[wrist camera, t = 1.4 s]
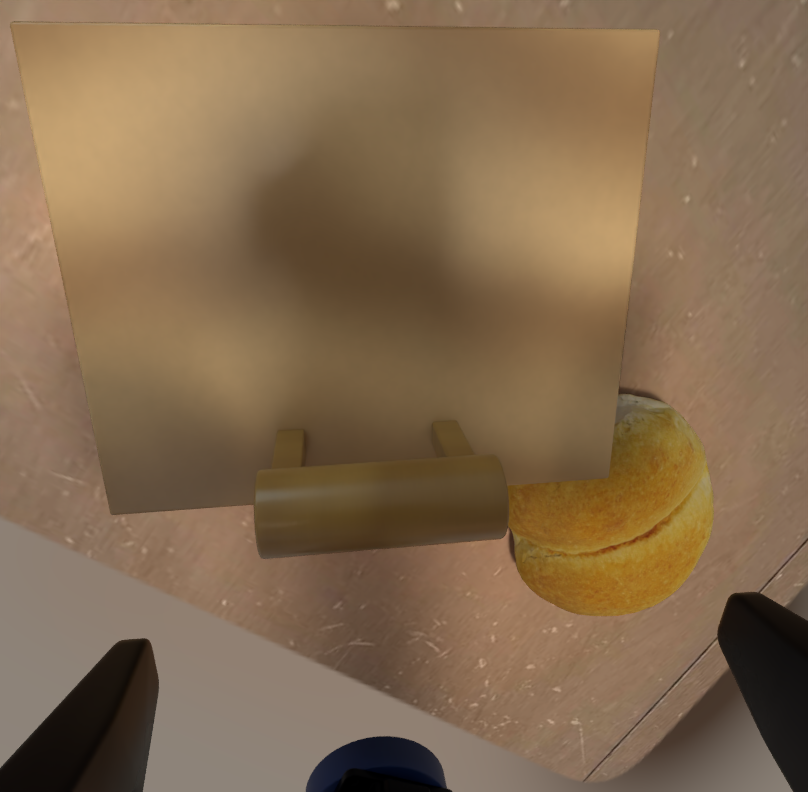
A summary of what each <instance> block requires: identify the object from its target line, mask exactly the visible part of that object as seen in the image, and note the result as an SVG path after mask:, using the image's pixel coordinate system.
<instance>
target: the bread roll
mask: <svg viewBox="0 0 808 792" xmlns="http://www.w3.org/2000/svg"><path fill="white" fill-rule="evenodd" d="M507 488H508V497H509V522H508V527H509V528H510V529H511V530H512V533H513V537H514V545H515V547H514V552H515V559H516V565H517V569H518V571H519V574H520V576H521V578H522V579H523V581H524V582H525V583H526V584H527V585H528V587H529V588H530V589H531V590H532V591H534V592H535V593H536V594H537V595H538V596H540V597H541V598H543V599H545V600H546V601H548V602H550V603H552V604H554V605H556V606H558V607H560V608H562V609H564V610H566V611H569V612H572V613H576V614H580V615H589V616H619V615H625V614H630V613H635V612H638V611H641V610H644V609H646V608H649V607H652V606H654V605H656V604H658V603H660V602H661V601H663V600H665V599H666V598H667V597H669V596H670V595H672V594H673V593H674V592H675V591H676V590H677V589H678V588H679V587H680V586H681V585H682V584H683V583H684V582H685V580H686V579H687V578H688V576H689V575H690V573H691V572H692V570H693V569H694V567H695V566H696V564H697V562H698V560H699V558H700V556H701V554H702V553H703V551H704V549H705V547H706V545H707V543H708V540H709V537H710V534H711V531H712V523H713V517H714V509H713V490H712V486H711V481H710V474H709V471H708V467H707V462H706V456H705V450H704V447H703V444H702V442H701V441H700V439H699V438H698V436H697V435H696V433H695V432H694V430H693V429H692V428H691V427H690V425H689V424H688V423H687V421H686V420H685V419H684V418H683V417H682V415H680V414H679V413H678V412H677V411H676V410H674V409H673V408H672V407H671V406H669V405H668V404H666V403H665V402H662V401H658V400H654V399H650V398H645V397H637V396H635V395H631V394H619V395H618V400H617V409H616V417H615V426H614V435H613V443H612V452H611V460H610V469H609V476H608V478H602V479H588V480H575V481H561V482H548V483H535V484H521V485H508V486H507Z"/></svg>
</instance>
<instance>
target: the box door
mask: <svg viewBox="0 0 808 792" xmlns="http://www.w3.org/2000/svg"><path fill="white" fill-rule="evenodd" d="M10 28H11V33H12V37H13V42H14V47H15V52H16V57H17V62H18V67H19V71H20V76H21V81H22V86H23V91H24V96H25V101H26V105H27V110H28V115H29V120H30V125H31V130H32V135H33V139H34V144H35V149H36V154H37V159H38V164H39V169H40V173H41V178H42V183H43V188H44V193H45V198H46V203H47V207H48V212H49V217H50V222H51V227H52V232H53V237H54V241H55V246H56V251H57V256H58V261H59V266H60V271H61V275H62V280H63V285H64V290H65V295H66V300H67V305H68V309H69V314H70V319H71V324H72V329H73V334H74V339H75V343H76V348H77V353H78V358H79V363H80V368H81V373H82V377H83V382H84V387H85V392H86V397H87V402H88V406H89V411H90V416H91V421H92V426H93V431H94V436H95V440H96V445H97V450H98V455H99V460H100V465H101V470H102V474H103V479H104V484H105V489H106V494H107V499H108V504H109V508H110V513H111V514H112V515H119V514H132V513H146V512H159V511H173V510H186V509H200V508H213V507H226V506H240V505H253V504H254V523H255V535H256V543H257V548H258V552H259V555H260V557H261V558H263V559H269V558H281V557H293V556H305V555H317V554H328V553H340V552H352V551H364V550H376V549H388V548H399V547H411V546H423V545H435V544H447V543H458V542H470V541H482V540H494V539H501V538H503V537H504V536H505V534H506V532H507V528H508V522H509V497H508V488H507V486H508V485H521V484H535V483H548V482H561V481H575V480H588V479H602V478H608V476H609V469H610V460H611V452H612V443H613V435H614V426H615V417H616V409H617V400H618V391H619V383H620V374H621V366H622V357H623V348H624V340H625V331H626V322H627V314H628V305H629V297H630V288H631V279H632V271H633V262H634V254H635V245H636V236H637V228H638V219H639V210H640V202H641V193H642V185H643V176H644V167H645V159H646V150H647V141H648V133H649V124H650V116H651V107H652V98H653V90H654V81H655V73H656V64H657V55H658V47H659V38H660V31H659V30H657V29H586V28H506V27H425V26H345V25H264V24H184V23H104V22H23V21H14V22H11V23H10Z"/></svg>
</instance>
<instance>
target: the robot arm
mask: <svg viewBox="0 0 808 792" xmlns="http://www.w3.org/2000/svg"><path fill="white" fill-rule="evenodd" d="M717 636H718V641H719V645H720V647H721V650H722V652H723V654H724V656H725V658H726V660H727V663H728V665H729V667H730V669H731V671H732V673H733V676H734V678H735V680H736V682H737V684H738V686H739V689H740V691H741V693H742V695H743V697H744V699H745V702H746V704H747V706H748V708H749V710H750V712H751V715H752V716H753V719H754V721H755V723H756V725H757V727H758V729H759V731H760V733H761V735H762V737H763V739H764V741H765V743H766V745H767V747H768V748H769V750H770V752H771V754H772V756H773V758H774V759H775V761H776V763H777V764H778V766H779V768H780V770H781V771H782V773H783V775H784V777H785V778H786V780H787V782H788V783H789V785H790V787H791V789H792V790H793V792H808V621H807V620H805V619H804V618H802V617H800V616H798V615H797V614H795V613H793V612H792V611H790V610H788V609H786V608H785V607H783V606H781V605H780V604H778V603H776V602H774V601H773V600H771V599H769V598H768V597H766V596H764V595H762V594H760V593H757V592H744V593H734V594H732V595H731V596H730V597H729V598H728V600H727V603H726V606H725V609H724V612H723V615H722V618H721V621H720V624H719V627H718V632H717ZM158 691H159V679H158V673H157V669H156V664H155V659H154V654H153V650H152V646H151V643H150V641H149V640H148V639H145V638H144V639H143V638H142V639H129V640H121V641H119V642H117V643H116V644H115V645H114V646H113V647H112V648H111V649H110V650H109V651H108V652H107V653H106V654H105V656H104V657H103V658H102V659H101V660H100V661H99V662H98V663H97V664H96V665H95V666H94V667H93V669H92V670H91V671H90V672H89V673H88V674H87V675H86V676H85V677H84V678H83V679H82V680H81V681H80V682H79V684H78V685H77V686H76V687H75V688H74V689H73V690H72V691H71V692H70V693H69V694H68V695H67V697H66V698H65V699H64V700H63V701H62V702H61V703H60V704H59V705H58V706H57V707H56V708H55V709H54V711H53V712H52V713H51V714H50V715H49V716H48V717H47V718H46V719H45V720H44V721H43V723H42V724H41V725H40V726H39V727H38V728H37V729H36V730H35V731H34V732H33V733H32V734H31V735H30V736H29V738H28V739H27V740H26V741H25V742H24V743H23V744H22V745H21V746H20V747H19V748H18V749H17V750H16V752H15V753H14V754H13V755H12V756H11V757H10V758H9V759H8V760H7V761H6V762H5V764H4V765H3V766H2V767H1V768H0V792H143V786H144V780H145V774H146V768H147V761H148V755H149V749H150V743H151V736H152V730H153V724H154V717H155V711H156V704H157V698H158ZM334 792H452V790H450V789H447V788H442V787H438V786H433V785H429V784H425V783H420V782H416V781H411V780H407V779H402V778H398V777H393V776H389V775H384V774H380V773H376V772H371V771H367V770H362V769H358V768H351V769H348V770H347V771H346V772H345V773H344V774H343V776H342V778H341V780H340V781H339V783H338V785H337V787H336V789H335V790H334Z"/></svg>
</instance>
